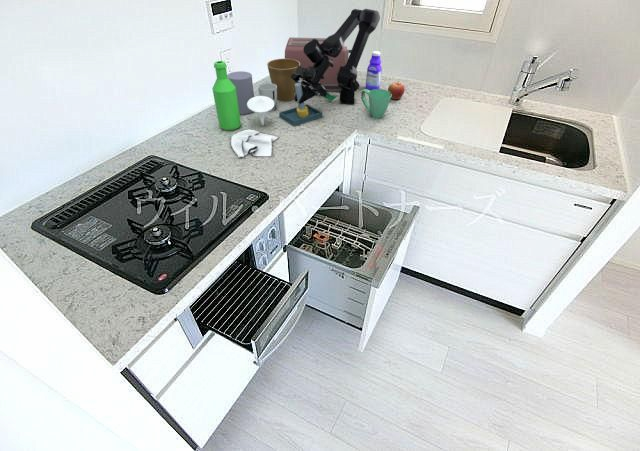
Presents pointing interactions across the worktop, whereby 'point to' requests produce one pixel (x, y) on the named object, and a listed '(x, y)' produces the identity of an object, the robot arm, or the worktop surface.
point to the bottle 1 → (225, 99)
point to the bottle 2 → (374, 72)
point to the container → (242, 89)
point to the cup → (269, 92)
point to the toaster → (296, 52)
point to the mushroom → (260, 106)
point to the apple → (396, 90)
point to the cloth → (252, 143)
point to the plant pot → (283, 77)
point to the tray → (293, 117)
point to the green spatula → (329, 96)
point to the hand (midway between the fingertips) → (297, 102)
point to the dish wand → (302, 109)
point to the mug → (376, 101)
